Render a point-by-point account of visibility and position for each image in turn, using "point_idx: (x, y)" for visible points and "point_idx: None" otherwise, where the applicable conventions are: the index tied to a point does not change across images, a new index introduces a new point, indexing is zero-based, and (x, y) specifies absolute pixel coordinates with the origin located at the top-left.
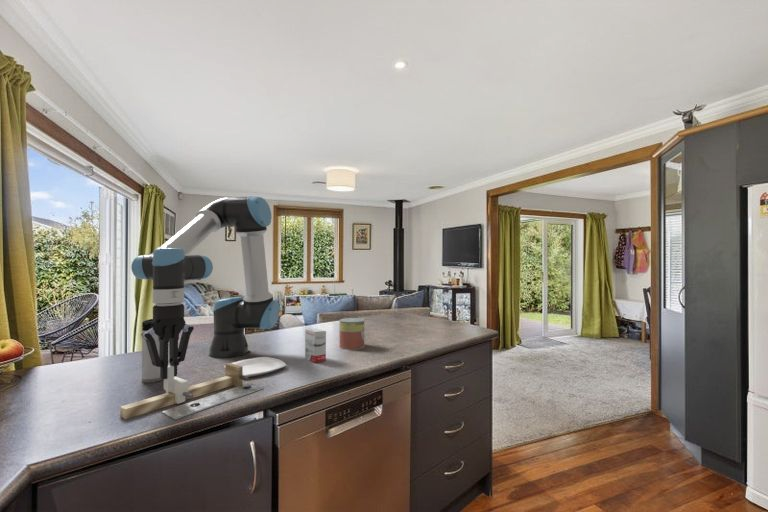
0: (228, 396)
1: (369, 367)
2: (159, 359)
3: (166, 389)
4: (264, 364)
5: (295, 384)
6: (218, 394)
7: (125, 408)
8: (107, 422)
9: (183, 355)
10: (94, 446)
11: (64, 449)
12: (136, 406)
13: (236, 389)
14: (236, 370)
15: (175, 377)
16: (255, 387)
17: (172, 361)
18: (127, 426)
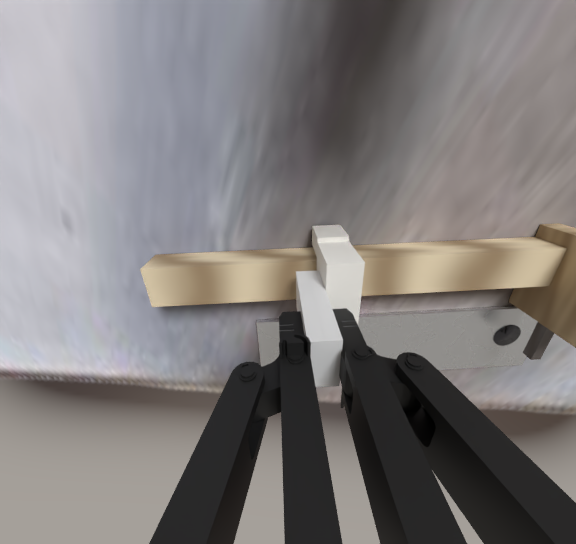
0: (424, 355)
1: None
2: (255, 450)
3: (296, 296)
4: None
5: (572, 391)
6: (424, 324)
7: (153, 299)
8: (118, 271)
9: (422, 429)
10: (92, 379)
11: (31, 352)
12: (187, 304)
13: (480, 326)
14: (570, 329)
15: (353, 292)
16: (514, 350)
17: (349, 389)
18: (164, 335)
